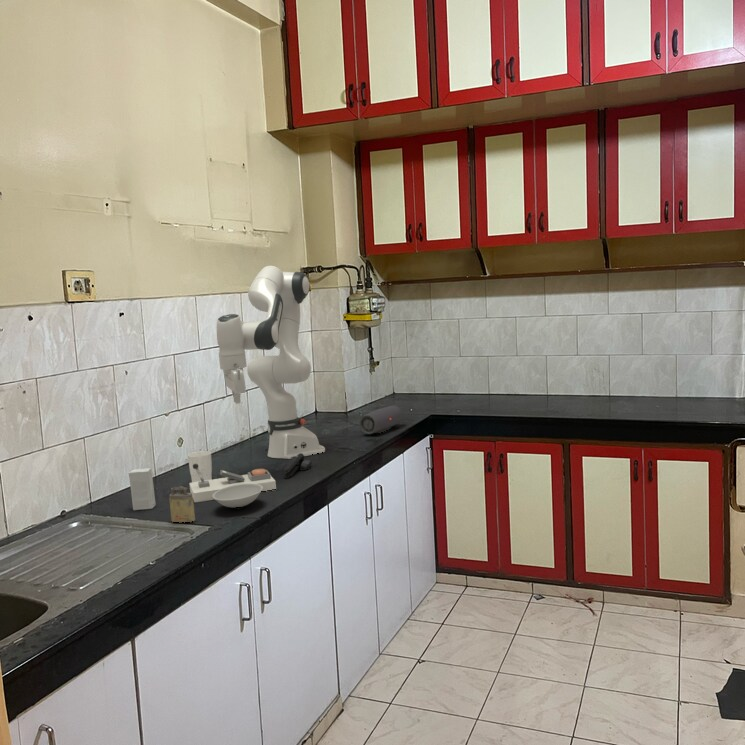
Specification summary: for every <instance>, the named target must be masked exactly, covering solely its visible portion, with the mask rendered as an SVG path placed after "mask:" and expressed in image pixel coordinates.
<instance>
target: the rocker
mask: <svg viewBox="0 0 745 745" xmlns="http://www.w3.org/2000/svg"><path fill="white" fill-rule="evenodd" d="M219 474H220V475H221V476H222V477H223V478H226V477H228V478H231V479H235V480H239V481H242V482H244V480H245V479H244V477H243V476H241V475H240V474H237V473H233V472H230V471H226V470H223V469H220V470H219Z"/></svg>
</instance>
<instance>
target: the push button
mask: <svg viewBox="0 0 745 745" xmlns="http://www.w3.org/2000/svg"><path fill="white" fill-rule="evenodd" d="M265 470H266V468H255V469H253V470H251V472H252V476H256V475H263V474H266V471H265Z"/></svg>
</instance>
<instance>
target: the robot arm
mask: <svg viewBox="0 0 745 745" xmlns="http://www.w3.org/2000/svg"><path fill="white" fill-rule="evenodd" d="M309 292H310V280H309V277H308V276H307V275H306V273H304V272H301V271H293V272H292V271H283V270H281V269H280V268H279V267H277V266H274V265H266V266H264V267H262V269H261V270H260V271H259V272H258V273H257V275H255V277H254V279H253V281H252V282H251V285H250V286H249V289H248V292H247V293H248V294H247V296H248V300H249V302H250V303H251V305H252V306H253V307H254V308H255V310H258V311H260V312H261V311H262V312H265V313H266V318H265V319H263V320H259V321H258V320H257V321H243V320H241V317H240V315H239V314H236V313H231V314H225V315H221V316H219V318H217V320H216V341H217V345H218V348H219V350H218V351H219V352H218V359H219V369H220V370H221V371H222V372H223V378H224V382H225V386H226V387H228V389H229V390H231V393H232V398H233V402H234V403H235V404H240V403H241V394H245V393H246V391H247V388H246V379H245V374H244V368H246V367H247V368H246V369H247V370H246V371H247V376H248V378H249V379H250V381H251V382H252V383H254V384H255V385H256V386H257V387H258V388H259V389H260V391H261V392H262V394H263V396H264V398H265V401H266V406H267V407H266V408H267V416H268V420H267V431H268V435H269V443H268V444H269V445H268V451H267V457H268V458H272V459H285V460H286V459H288V460H291V457H294V456H297V455H298V454H300V453H302V454H303V455H304V457H307V456H313V455H318V454H317V453H319V454H323V453H325V452H326V447H325V446H323V445H321V444H320V443H319V442H320V441H319V438H318V437H317V435H316V434H315V433H314V432H312V431H311V430H309V429H308V428H306V427H305V426H303V425H305V424H306V422H307V421H306V420H305V419H304V418H300V417H298V413H297V401H296V398H295V396H294V395H293V394H292V393H290V392H287V391H286V390H285V388H284V387H283V384H285V385H286V384H299V383H301V382H306V381H307V380H308V379H309V378H310V375H311V372H312V366H311V363H310V361H309V359H308V358H307V357H306V356H304V355H303V353H302V352H301V350H300V347H299V332H300V325H301V305H300V304H302V303H303V302H304V300H305V299H306V298H307V296H308V295H309ZM273 348H276V349H279V354H277V355H262V356H261V355H260V356H258V357H254V358H252V359H251V360H249V362H248V364H247V358H246V357H247V356H246V355H247V354H246V351H247V350H249V351H250V350H251V351H252V350H253V351H254V350H262V351H263V350H264V351H270V350H272V349H273ZM245 350H246V351H245ZM247 365H248V366H247ZM322 452H323V453H322ZM312 454H313V455H312Z"/></svg>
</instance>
